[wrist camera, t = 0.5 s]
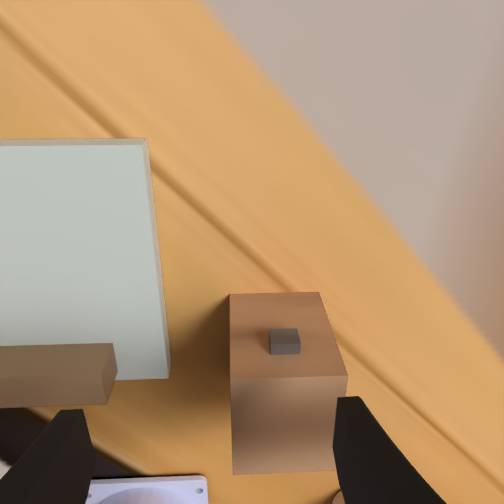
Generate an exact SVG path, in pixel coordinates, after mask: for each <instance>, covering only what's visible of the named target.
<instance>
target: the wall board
mask: <svg viewBox="0 0 504 504" xmlns="http://www.w3.org/2000/svg"><path fill="white" fill-rule="evenodd" d="M170 368H171V355H170V345H169V336H168V327H167V317H166V308H165V299H164V289H163V280H162V271H161V261H160V252H159V243H158V233H157V224H156V215H155V205H154V196H153V187H152V177H151V168H150V159H149V149H148V140H147V138H117V139H0V408H17V407H45V406H74V405H103V404H107V403H108V400H109V397H110V394H111V391H112V387H113V384H114V381H115V380H137V379H168V378H169V373H170Z"/></svg>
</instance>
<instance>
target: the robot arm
mask: <svg viewBox="0 0 504 504" xmlns="http://www.w3.org/2000/svg"><path fill="white" fill-rule="evenodd" d="M332 448H333V453H334V459H335V464H336V470H337V475H338V480H339V485H340V488H341V491H342V495H343V498H344V501H345V504H446V503H445V501H444V500H443V499H442V498H441V497H440V496H439V495H438V494H437V493H436V492H435V491H434V490H433V489H432V488H431V486H430V485H429V484H428V483H427V482H426V481H425V480H424V479H423V478H422V476H421V475H420V474H419V473H418V472H417V471H416V469H415V468H414V467H413V466H412V465H411V464H410V462H409V461H408V460H407V459H406V457H405V456H404V455H403V454H402V453H401V451H400V450H399V449H398V448H397V446H396V445H395V444H394V443H393V441H392V440H391V439H390V438H389V436H388V435H387V434H386V432H385V431H384V430H383V428H382V427H381V426H380V424H379V423H378V422H377V420H376V419H375V417H374V416H373V415H372V413H371V412H370V410H369V409H368V408H367V406H366V405H365V403H364V402H363V400H362V399H361V398H360V397H359V396H354V397H337V406H336V416H335V426H334V435H333V445H332ZM95 460H96V459H95V455H94V451H93V447H92V443H91V439H90V435H89V431H88V427H87V423H86V419H85V416H84V412H83V409H73V410H60V411H59V412H58V413H57V415H56V416H55V417H54V418H53V419H52V420H51V422H50V423H49V424H48V425H47V426H46V428H45V429H44V430H43V431H42V432H41V434H40V435H39V436H38V437H37V438H36V439H35V441H34V442H33V443H32V444H31V445H30V446H29V448H28V449H27V450H26V451H25V452H24V453H23V455H22V456H21V457H20V458H19V459H18V460H17V461H16V463H15V464H14V465H13V466H12V467H11V468H10V469H9V470H8V472H7V473H6V474H5V475H4V476H3V477H2V478H1V479H0V504H209V502H208V488H207V479H206V478H205V477H204V476H201V475H194V476H170V477H146V478H122V479H99V480H91V479H92V474H93V469H94V464H95Z"/></svg>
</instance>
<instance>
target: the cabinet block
mask: <svg viewBox="0 0 504 504" xmlns="http://www.w3.org/2000/svg"><path fill="white" fill-rule="evenodd" d="M347 380H348V374H347V371H346V368H345V365H344V362H343V359H342V357H341V354H340V351H339V348H338V345H337V342H336V339H335V337H334V334H333V331H332V328H331V325H330V322H329V319H328V317H327V314H326V311H325V308H324V305H323V302H322V299H321V296H320V294H319V292H296V293H254V294H230V394H231V429H232V464H233V475H248V474H271V473H295V472H318V471H335V469H336V464H335V459H334V453H333V448H332V445H333V435H334V426H335V416H336V406H337V397H345V395H346V387H347Z"/></svg>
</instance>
